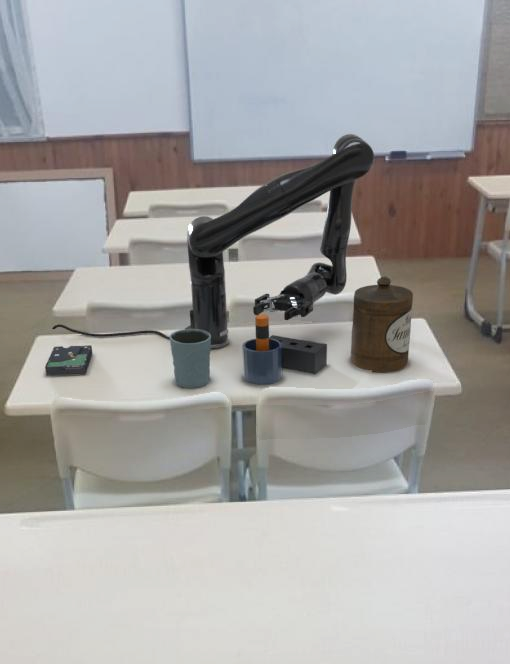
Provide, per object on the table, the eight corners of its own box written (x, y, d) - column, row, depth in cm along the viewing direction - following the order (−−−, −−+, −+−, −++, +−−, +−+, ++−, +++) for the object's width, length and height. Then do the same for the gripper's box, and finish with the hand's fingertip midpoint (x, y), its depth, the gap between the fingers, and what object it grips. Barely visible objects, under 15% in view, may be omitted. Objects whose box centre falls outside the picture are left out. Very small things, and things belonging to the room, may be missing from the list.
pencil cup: (236, 382, 211) (235, 348, 206) (255, 369, 218) (254, 335, 213) (270, 389, 207) (270, 354, 202) (288, 375, 214) (288, 341, 209)
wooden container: (402, 375, 212) (408, 288, 200) (344, 369, 216) (347, 283, 204) (412, 354, 224) (419, 271, 212) (357, 349, 228) (361, 267, 216)
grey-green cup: (179, 372, 217) (176, 327, 211) (217, 375, 216) (215, 329, 209) (168, 388, 209) (164, 341, 203) (207, 390, 207) (205, 344, 201)
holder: (260, 365, 220) (259, 343, 217) (272, 356, 225) (272, 334, 222) (314, 375, 213) (315, 353, 210) (326, 366, 219) (327, 344, 215)
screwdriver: (254, 378, 212) (252, 317, 203) (260, 373, 214) (259, 313, 206) (265, 380, 210) (264, 319, 202) (271, 375, 213) (270, 315, 204)
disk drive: (54, 356, 230) (46, 376, 217) (53, 346, 228) (44, 366, 216) (93, 354, 230) (86, 374, 218) (91, 344, 229) (85, 364, 216)
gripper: (275, 277, 220) (244, 294, 208) (325, 284, 214) (296, 302, 202) (275, 305, 224) (245, 324, 213) (324, 313, 218) (296, 332, 207)
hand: (270, 313), depth 207 cm, fingers open, 8 cm apart
